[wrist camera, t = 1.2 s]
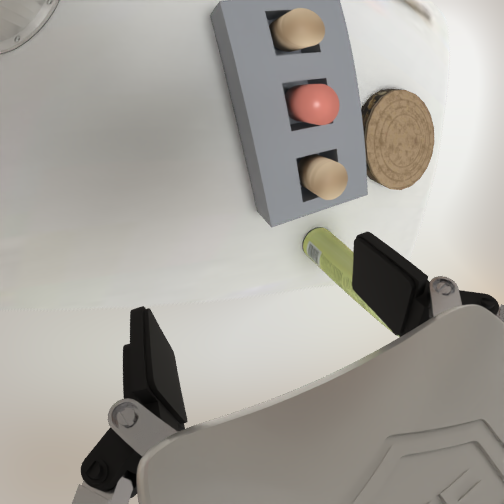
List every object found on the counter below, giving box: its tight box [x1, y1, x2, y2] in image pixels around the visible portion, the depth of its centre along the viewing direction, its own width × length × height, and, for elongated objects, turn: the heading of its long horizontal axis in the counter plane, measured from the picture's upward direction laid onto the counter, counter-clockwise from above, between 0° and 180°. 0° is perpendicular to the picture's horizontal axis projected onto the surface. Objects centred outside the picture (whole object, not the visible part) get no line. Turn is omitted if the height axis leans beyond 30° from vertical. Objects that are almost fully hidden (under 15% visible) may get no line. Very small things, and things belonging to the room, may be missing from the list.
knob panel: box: [211, 0, 368, 227], centre depth 29 cm, size 26×14×5 cm, turn 13°
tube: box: [303, 228, 400, 337], centre depth 35 cm, size 6×5×20 cm
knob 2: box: [297, 154, 348, 200], centre depth 31 cm, size 4×4×4 cm
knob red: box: [285, 84, 339, 125], centre depth 27 cm, size 4×4×4 cm
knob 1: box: [269, 8, 325, 52], centre depth 22 cm, size 4×4×4 cm
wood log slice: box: [361, 89, 434, 190], centre depth 37 cm, size 16×16×3 cm
